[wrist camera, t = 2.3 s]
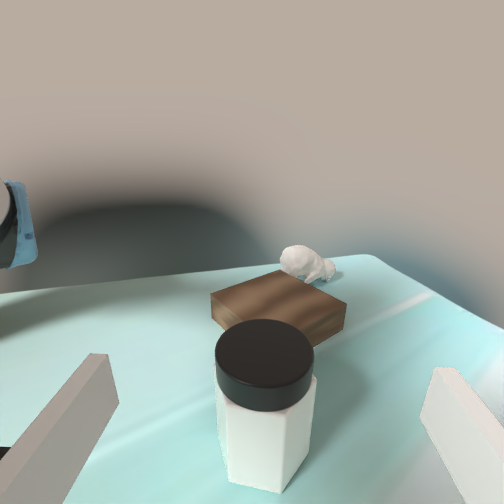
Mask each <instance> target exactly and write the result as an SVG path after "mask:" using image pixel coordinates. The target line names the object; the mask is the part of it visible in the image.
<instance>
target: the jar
mask: <svg viewBox="0 0 504 504" xmlns="http://www.w3.org/2000/svg"><path fill="white" fill-rule="evenodd" d="M313 363H314V350H313V347H312V344H311V342H310V341H309V339H308V338H307V336H306V335H305V334H304V333H303V332H301V331H300V330H299V329H297V328H296V327H294V326H292V325H290V324H288V323H285V322H282V321H279V320H273V319H251V320H246V321H243V322H240V323H238V324H235V325H233V326H232V327H230V328H229V329H227V330H226V331H225V332H224V333H223V334H222V335H221V337H220V338H219V340H218V341H217V344H216V348H215V364H214V379H215V395H216V411H217V427H218V437H219V442H220V446H221V450H222V455H223V459H224V463H225V467H226V472H227V476H228V480H229V482H231V483H235V484H239V485H244V486H248V487H252V488H257V489H261V490H265V491H270V492H274V493H278V494H280V493H282V492H283V490H284V489H285V487H286V486H287V484H288V483H289V481H290V480H291V478H292V477H293V475H294V474H295V472H296V471H297V469H298V468H299V466H300V465H301V463H302V462H303V461H304V459H305V458H306V456H307V455H308V453H309V445H310V436H311V427H312V419H313V410H314V402H315V393H316V385H317V379H316V378H315V376H314V375H313V373H312V372H313Z"/></svg>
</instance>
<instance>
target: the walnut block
mask: <svg viewBox="0 0 504 504" xmlns="http://www.w3.org/2000/svg"><path fill="white" fill-rule="evenodd" d="M210 295H211V311H212V318H213V319H214V320H215V321H216V322H217V323H218V324H219V325H220V326H221V327H222V328H223V329H224V330H225V331H226V330H227V329H229V328H230V327H232V326H233V325H235V324H238V323H240V322H243V321H246V320H251V319H273V320H279V321H282V322H285V323H288V324H290V325H292V326H294V327H296V328H297V329H299V330H300V331H301V332H303V333H304V334H305V335H306V336H307V338H308V339H309V341H310V342H311V344H312V347H314V346H316V345H318V344H319V343H321V342H323V341H324V340H326V339H327V338H329V337H331V336H332V335H334V334H336V333H337V332H339V331H341V330H342V329H343V325H344V319H345V312H346V305H347V304H346V303H344V302H342V301H340V300H338V299H336V298H334V297H332V296H330V295H328V294H326V293H324V292H322V291H321V290H319V289H317V288H315V287H313V286H311V285H309V284H307V283H305V282H303V281H301V280H299V279H297V278H295V277H293V276H291V275H289V274H287V273H286V272H284V271H282V270H277V271H274V272H271V273H268V274H266V275H263V276H260V277H257V278H254V279H251V280H248V281H246V282H243V283H240V284H237V285H234V286H231V287H228V288H225V289H223V290H220V291H217V292H214V293H211V294H210Z"/></svg>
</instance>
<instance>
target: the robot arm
mask: <svg viewBox="0 0 504 504" xmlns="http://www.w3.org/2000/svg"><path fill="white" fill-rule="evenodd" d="M37 254H38V252H37V247H36V241H35V236H34V230H33V225H32V220H31V214H30V209H29V204H28V199H27V193H26V189H25V186H24V185H23V184H22V183H20V182H12V181H8V180H7V181H2V180H1V179H0V269H3V268H5V269H10V268H13V267H14V266H18V265H22V264H27V263H30V262H32V261H34V260H35V259H36V257H37ZM118 404H119V399H118V395H117V391H116V387H115V383H114V378H113V374H112V370H111V366H110V362H109V357H108V354H89V355H88V356H87V358H86V359H85V360H84V361H83V362H82V363H81V365H80V366H79V367H78V368H77V369H76V371H75V372H74V373H73V374H72V375H71V377H70V378H69V379H68V380H67V381H66V383H65V384H64V385H63V386H62V387H61V389H60V390H59V391H58V392H57V393H56V395H55V396H54V397H53V398H52V399H51V401H50V402H49V403H48V404H47V405H46V407H45V408H44V409H43V410H42V411H41V413H40V414H39V415H38V416H37V417H36V418H35V420H34V421H33V422H32V423H31V424H30V426H29V427H28V428H27V429H26V430H25V432H24V433H23V434H22V435H21V436H20V438H19V439H18V440H17V441H16V442H15V444H14V445H13V446H12V447H0V504H62V503H63V501H64V500H65V498H66V496H67V494H68V493H69V491H70V489H71V487H72V485H73V484H74V482H75V480H76V478H77V477H78V475H79V473H80V471H81V470H82V468H83V466H84V464H85V463H86V461H87V459H88V457H89V456H90V454H91V452H92V450H93V448H94V447H95V445H96V443H97V441H98V440H99V438H100V436H101V434H102V433H103V431H104V429H105V427H106V426H107V424H108V422H109V420H110V419H111V417H112V415H113V413H114V411H115V410H116V408H117V406H118ZM419 418H420V420H421V421H422V423H423V425H424V427H425V429H426V431H427V433H428V434H429V436H430V438H431V440H432V442H433V444H434V445H435V447H436V449H437V451H438V453H439V455H440V457H441V458H442V460H443V462H444V464H445V466H446V468H447V470H448V471H449V473H450V475H451V477H452V479H453V481H454V483H455V484H456V486H457V488H458V490H459V492H460V494H461V495H462V497H463V499H464V501H465V503H466V504H504V427H503V426H502V425H501V424H500V423H499V421H498V420H497V419H496V418H495V416H494V415H493V414H492V413H491V411H490V410H489V409H488V408H487V407H486V405H485V404H484V403H483V402H482V400H481V399H480V398H479V397H478V395H477V394H476V393H475V392H474V391H473V389H472V388H471V387H470V386H469V384H468V383H467V382H466V381H465V379H464V378H463V377H462V376H461V375H460V373H459V372H458V371H457V370H456V368H448V367H434V371H433V374H432V377H431V381H430V384H429V387H428V391H427V394H426V397H425V400H424V404H423V407H422V410H421V414H420V417H419Z"/></svg>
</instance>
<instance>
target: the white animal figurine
mask: <svg viewBox="0 0 504 504" xmlns="http://www.w3.org/2000/svg"><path fill="white" fill-rule="evenodd" d="M280 262H281V269H282V271H284V272H286V273H287V274H289V275H291V276H293V277H295V278H297V277H299V276H301V275H302V276H304V277H306V279H305V280H304V282H305V283H307V284H309V283H311V282H313V281H314V280H316V279H317V278H321V280H327V282H328V281H329V280H330V279H331V277H332V276H333V275H334V273H335V270H336V268H335V265H334V263H333V262H332V261H330V260H326V259H322V258H321V257H320V256H319V255H318V254H316V253H315V252H314V251H313V250H311V249H309V248H307V247H306V246H302V245H294V246H291V247H288V248H285V249H284V251H283V253H282V256H281V257H280Z"/></svg>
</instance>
